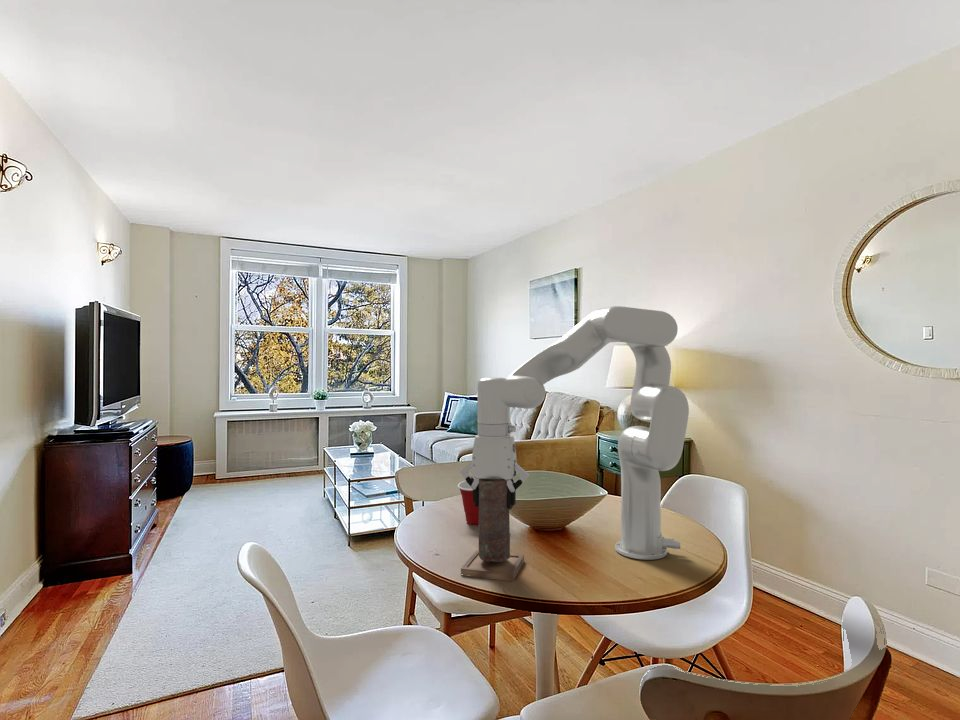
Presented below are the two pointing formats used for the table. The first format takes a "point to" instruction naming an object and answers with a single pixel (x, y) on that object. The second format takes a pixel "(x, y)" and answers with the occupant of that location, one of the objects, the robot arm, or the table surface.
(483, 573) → the picture frame
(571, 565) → the table surface
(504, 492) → the grey brown rough cylinder
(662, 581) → the table surface
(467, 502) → the plastic cup
